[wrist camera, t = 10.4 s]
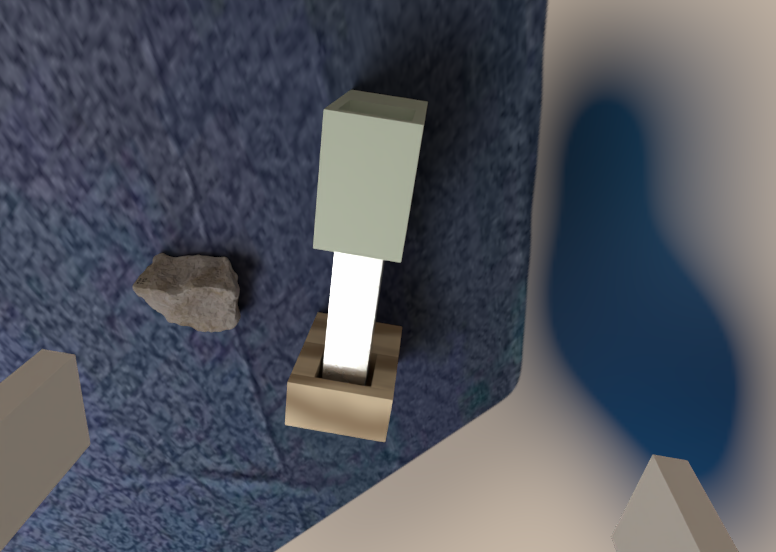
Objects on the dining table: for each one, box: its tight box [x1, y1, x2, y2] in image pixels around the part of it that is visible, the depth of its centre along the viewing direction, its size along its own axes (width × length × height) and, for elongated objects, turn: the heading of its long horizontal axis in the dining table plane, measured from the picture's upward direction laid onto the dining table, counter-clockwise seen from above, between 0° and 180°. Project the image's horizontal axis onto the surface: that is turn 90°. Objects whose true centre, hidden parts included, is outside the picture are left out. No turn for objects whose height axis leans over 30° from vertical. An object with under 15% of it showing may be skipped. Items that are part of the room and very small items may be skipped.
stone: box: [133, 253, 241, 332], centre depth 51 cm, size 8×10×6 cm
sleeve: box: [313, 90, 428, 263], centre depth 41 cm, size 10×7×11 cm, turn 172°
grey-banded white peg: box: [322, 252, 385, 386], centre depth 44 cm, size 18×4×4 cm, turn 172°
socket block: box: [285, 312, 402, 442], centre depth 49 cm, size 5×9×12 cm, turn 82°
